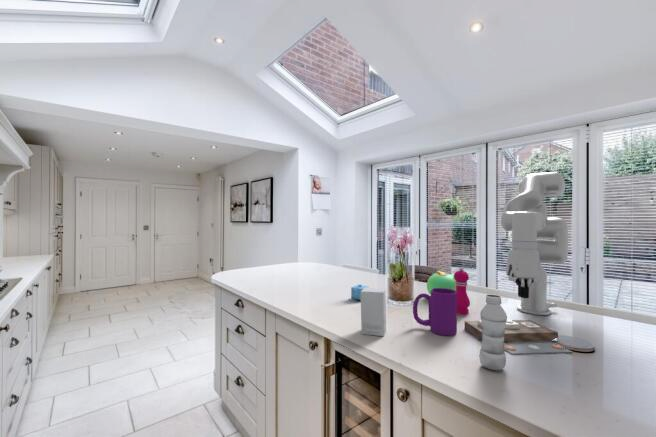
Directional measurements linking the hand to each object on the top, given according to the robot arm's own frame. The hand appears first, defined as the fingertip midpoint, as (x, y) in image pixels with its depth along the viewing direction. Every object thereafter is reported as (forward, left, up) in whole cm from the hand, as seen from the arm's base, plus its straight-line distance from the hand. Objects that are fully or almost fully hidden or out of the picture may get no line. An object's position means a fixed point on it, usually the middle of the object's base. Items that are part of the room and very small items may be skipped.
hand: (523, 297), depth 111 cm
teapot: (+50, -49, -14) cm, 72 cm away
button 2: (-3, 0, -13) cm, 13 cm away
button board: (+5, 0, -13) cm, 14 cm away
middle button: (+5, 0, -12) cm, 13 cm away
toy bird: (+7, -46, -14) cm, 49 cm away
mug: (+30, -6, -14) cm, 34 cm away
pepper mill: (+9, -26, -14) cm, 31 cm away
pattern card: (+5, +12, -13) cm, 19 cm away
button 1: (+13, 0, -12) cm, 18 cm away
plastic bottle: (+26, +23, -14) cm, 37 cm away
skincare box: (+53, -5, -14) cm, 55 cm away
